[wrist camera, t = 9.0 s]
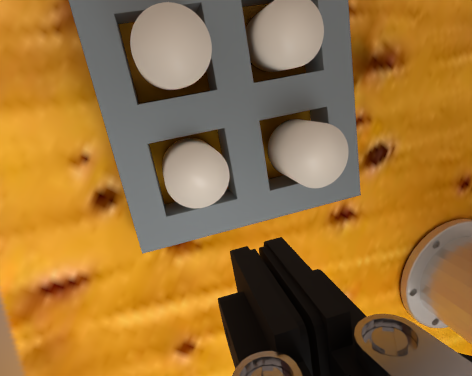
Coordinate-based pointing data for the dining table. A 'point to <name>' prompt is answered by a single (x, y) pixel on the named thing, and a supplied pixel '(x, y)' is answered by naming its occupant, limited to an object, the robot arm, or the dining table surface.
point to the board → (218, 117)
